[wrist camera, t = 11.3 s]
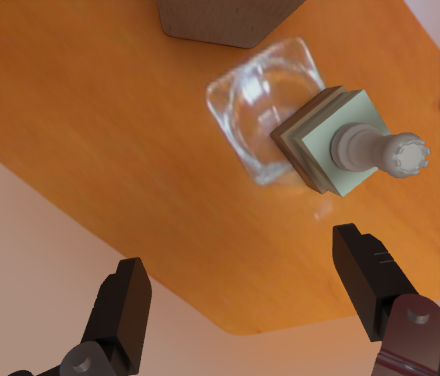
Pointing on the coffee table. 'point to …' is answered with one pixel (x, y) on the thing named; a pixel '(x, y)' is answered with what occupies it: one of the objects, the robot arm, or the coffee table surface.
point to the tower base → (326, 138)
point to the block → (224, 19)
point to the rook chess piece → (378, 151)
